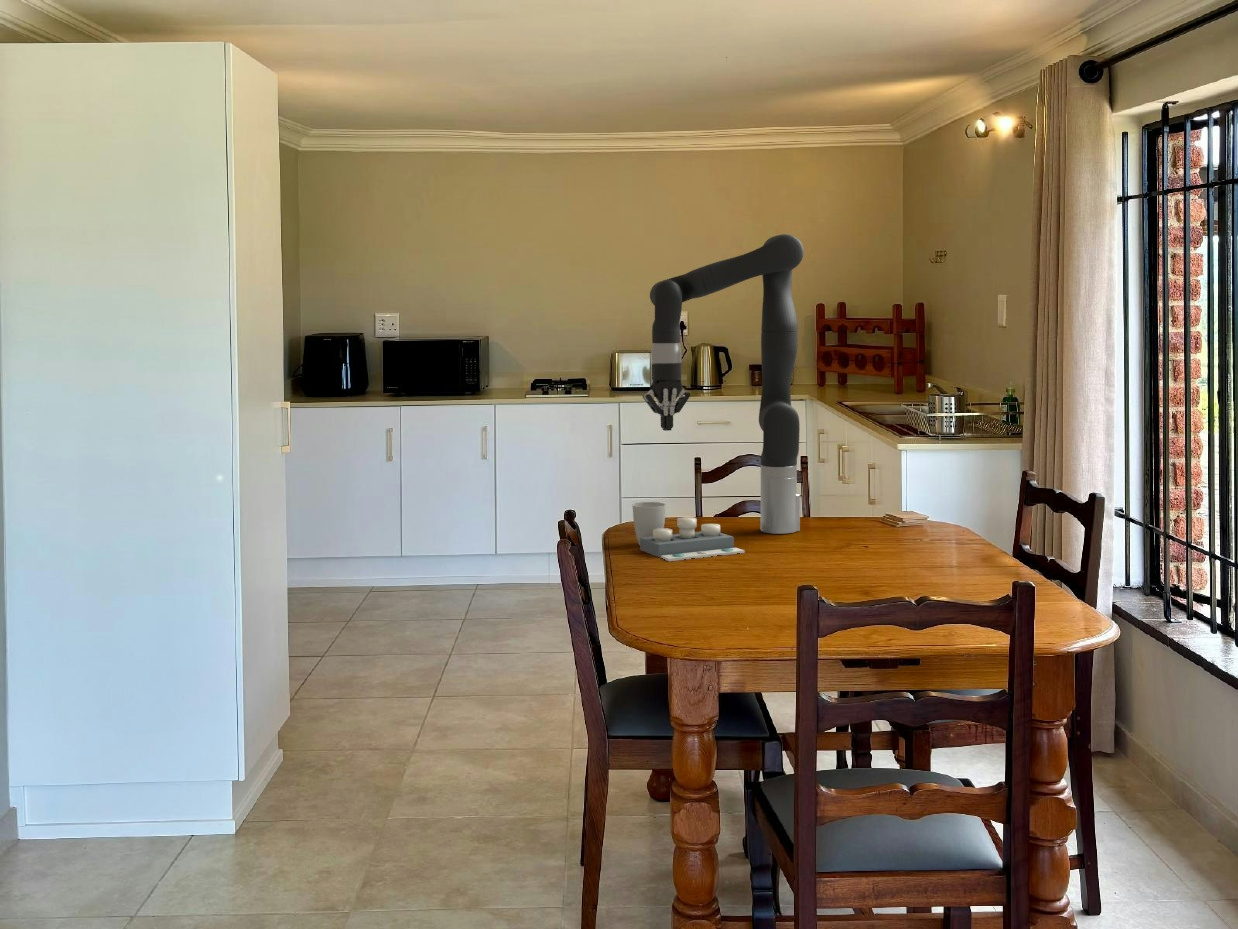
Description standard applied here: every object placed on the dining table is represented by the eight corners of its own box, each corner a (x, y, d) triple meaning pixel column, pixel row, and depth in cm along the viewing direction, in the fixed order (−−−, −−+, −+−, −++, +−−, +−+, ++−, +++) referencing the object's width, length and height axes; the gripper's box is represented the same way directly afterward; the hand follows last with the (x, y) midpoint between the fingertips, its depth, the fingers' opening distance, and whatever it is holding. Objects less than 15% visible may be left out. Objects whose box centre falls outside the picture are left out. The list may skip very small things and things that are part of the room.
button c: (667, 546, 282) (666, 527, 281) (675, 549, 278) (675, 530, 277) (649, 548, 280) (649, 529, 279) (658, 551, 276) (658, 532, 275)
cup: (666, 541, 292) (666, 501, 291) (664, 548, 284) (664, 507, 283) (634, 541, 293) (633, 501, 291) (631, 547, 285) (631, 507, 283)
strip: (735, 550, 280) (735, 546, 280) (744, 553, 277) (744, 549, 277) (661, 558, 272) (660, 554, 272) (668, 561, 268) (668, 557, 268)
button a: (714, 541, 287) (714, 523, 287) (723, 544, 283) (723, 526, 282) (697, 543, 285) (697, 524, 285) (707, 546, 281) (707, 527, 281)
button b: (690, 535, 284) (690, 516, 284) (700, 538, 280) (699, 519, 280) (674, 536, 282) (673, 518, 282) (682, 540, 278) (682, 521, 278)
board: (713, 542, 290) (713, 530, 290) (733, 549, 281) (733, 537, 281) (640, 549, 282) (640, 537, 282) (659, 557, 273) (658, 544, 273)
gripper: (682, 360, 300) (683, 427, 302) (636, 361, 295) (636, 430, 297) (696, 360, 293) (697, 430, 295) (649, 362, 288) (649, 433, 290)
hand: (666, 430), depth 296 cm, fingers closed
